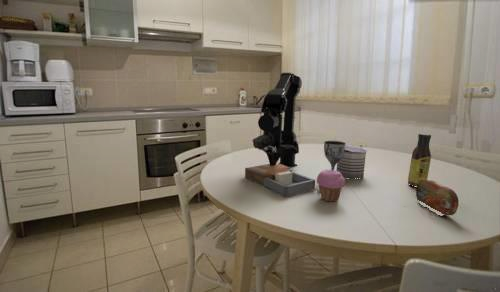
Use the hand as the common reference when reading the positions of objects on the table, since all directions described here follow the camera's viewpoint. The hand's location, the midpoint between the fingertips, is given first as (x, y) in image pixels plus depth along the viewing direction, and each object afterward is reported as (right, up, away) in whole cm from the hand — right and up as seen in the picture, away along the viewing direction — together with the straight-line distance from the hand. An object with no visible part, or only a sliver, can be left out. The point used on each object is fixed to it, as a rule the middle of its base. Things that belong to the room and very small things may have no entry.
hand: (272, 167), depth 113 cm
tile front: (+3, -3, -4) cm, 6 cm away
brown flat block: (-1, -5, +3) cm, 6 cm away
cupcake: (+17, -9, -16) cm, 25 cm away
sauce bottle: (+54, -7, -2) cm, 55 cm away
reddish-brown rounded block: (+48, -11, -23) cm, 54 cm away
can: (+33, -4, +10) cm, 35 cm away
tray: (+5, -7, -7) cm, 11 cm away
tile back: (+2, -2, -2) cm, 3 cm away
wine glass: (+24, -5, +4) cm, 25 cm away
